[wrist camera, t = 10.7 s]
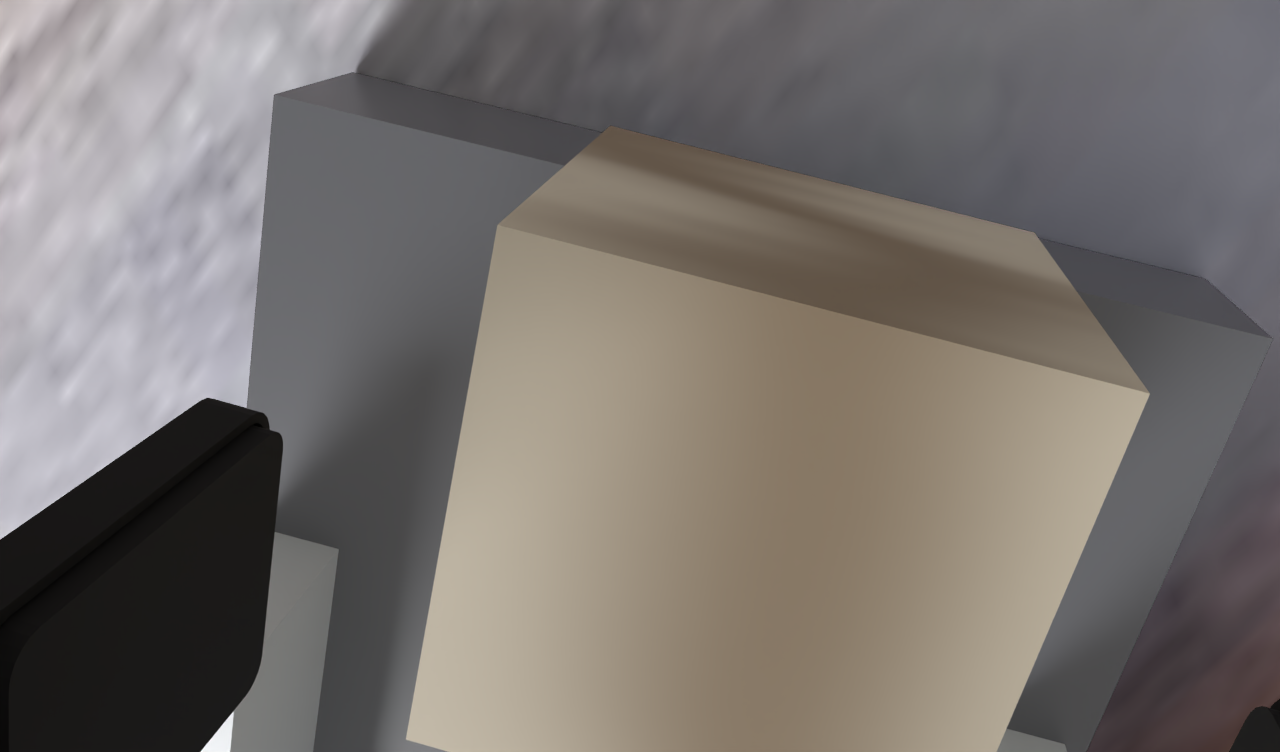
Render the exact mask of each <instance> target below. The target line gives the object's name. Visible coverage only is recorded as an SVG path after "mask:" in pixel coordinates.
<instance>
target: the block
mask: <svg viewBox="0 0 1280 752" xmlns="http://www.w3.org/2000/svg"><path fill="white" fill-rule="evenodd" d="M1149 395H1150V393H1149V391H1148V390H1147V389H1146V387H1145V386H1144V384H1143V383H1142V382H1141V380H1140V379H1139V377H1138V376H1137V375H1136V373H1135V372H1134V371H1133V369H1132V368H1131V366H1130V365H1129V364H1128V362H1127V361H1126V359H1125V358H1124V357H1123V355H1122V354H1121V352H1120V351H1119V350H1118V348H1117V347H1116V345H1115V344H1114V343H1113V341H1112V340H1111V339H1110V337H1109V336H1108V334H1107V333H1106V332H1105V330H1104V329H1103V327H1102V326H1101V325H1100V323H1099V322H1098V320H1097V319H1096V318H1095V316H1094V315H1093V313H1092V312H1091V311H1090V309H1089V308H1088V307H1087V305H1086V304H1085V302H1084V301H1083V300H1082V298H1081V297H1080V295H1079V294H1078V293H1077V291H1076V290H1075V288H1074V287H1073V286H1072V284H1071V283H1070V281H1069V280H1068V279H1067V277H1066V276H1065V275H1064V273H1063V272H1062V270H1061V269H1060V268H1059V266H1058V265H1057V263H1056V262H1055V261H1054V259H1053V258H1052V256H1051V255H1050V254H1049V252H1048V251H1047V249H1046V248H1045V247H1044V245H1043V244H1042V243H1041V241H1040V240H1039V238H1038V237H1037V236H1036V234H1035V233H1034V232H1030V231H1026V230H1022V229H1018V228H1014V227H1010V226H1006V225H1002V224H998V223H994V222H990V221H986V220H982V219H978V218H974V217H971V216H967V215H963V214H959V213H955V212H951V211H947V210H943V209H939V208H935V207H931V206H927V205H923V204H919V203H915V202H911V201H907V200H903V199H899V198H895V197H891V196H887V195H883V194H879V193H875V192H871V191H867V190H863V189H859V188H855V187H851V186H848V185H844V184H840V183H836V182H832V181H828V180H824V179H820V178H816V177H812V176H808V175H804V174H800V173H796V172H792V171H788V170H784V169H780V168H776V167H772V166H768V165H764V164H760V163H756V162H752V161H748V160H744V159H740V158H736V157H732V156H728V155H725V154H721V153H717V152H713V151H709V150H705V149H701V148H697V147H693V146H689V145H685V144H681V143H677V142H673V141H669V140H665V139H661V138H657V137H653V136H649V135H645V134H641V133H637V132H633V131H629V130H625V129H621V128H617V127H613V126H609V127H608V128H607V129H606V130H605V131H604V132H603V133H601V134H600V135H599V136H598V137H597V138H596V139H595V140H594V141H592V142H591V143H590V144H589V145H588V146H587V147H586V148H584V149H583V150H582V151H581V152H580V153H579V154H578V155H576V156H575V157H574V158H573V159H572V160H571V161H570V162H568V163H567V164H566V165H565V166H564V167H563V168H562V169H560V170H559V171H558V172H557V173H556V174H555V175H554V176H552V177H551V178H550V179H549V180H548V181H547V182H546V183H544V184H543V185H542V186H541V187H540V188H539V189H538V190H536V191H535V192H534V193H533V194H532V195H531V196H530V197H529V198H527V199H526V200H525V201H524V202H523V203H522V204H521V205H519V206H518V207H517V208H516V209H515V210H514V211H513V212H511V213H510V214H509V215H508V216H507V217H506V218H505V219H503V220H502V221H501V222H500V223H499V224H498V225H497V230H496V235H495V241H494V247H493V252H492V258H491V264H490V269H489V275H488V280H487V286H486V292H485V297H484V303H483V309H482V314H481V320H480V325H479V331H478V337H477V342H476V348H475V353H474V359H473V365H472V370H471V376H470V382H469V387H468V393H467V398H466V404H465V410H464V415H463V421H462V426H461V432H460V438H459V443H458V449H457V455H456V460H455V466H454V471H453V477H452V483H451V488H450V494H449V500H448V505H447V511H446V516H445V522H444V528H443V533H442V539H441V544H440V550H439V556H438V561H437V567H436V573H435V578H434V584H433V589H432V595H431V601H430V606H429V612H428V617H427V623H426V629H425V634H424V640H423V646H422V651H421V657H420V662H419V668H418V674H417V679H416V685H415V691H414V696H413V702H412V707H411V713H410V719H409V724H408V730H407V735H406V740H409V741H413V742H416V743H419V744H423V745H426V746H430V747H433V748H437V749H440V750H444V751H447V752H997V750H998V747H999V745H1000V743H1001V740H1002V738H1003V736H1004V733H1005V731H1006V729H1007V726H1008V724H1009V722H1010V719H1011V717H1012V715H1013V712H1014V710H1015V708H1016V705H1017V703H1018V701H1019V698H1020V696H1021V694H1022V691H1023V689H1024V687H1025V684H1026V682H1027V680H1028V677H1029V675H1030V673H1031V670H1032V668H1033V666H1034V663H1035V661H1036V659H1037V656H1038V654H1039V652H1040V649H1041V647H1042V645H1043V642H1044V640H1045V638H1046V635H1047V633H1048V631H1049V628H1050V626H1051V624H1052V621H1053V619H1054V617H1055V614H1056V612H1057V610H1058V607H1059V605H1060V603H1061V600H1062V598H1063V596H1064V593H1065V591H1066V589H1067V586H1068V584H1069V582H1070V579H1071V577H1072V575H1073V572H1074V570H1075V568H1076V565H1077V563H1078V561H1079V558H1080V556H1081V554H1082V551H1083V549H1084V547H1085V544H1086V542H1087V540H1088V537H1089V535H1090V533H1091V530H1092V528H1093V526H1094V523H1095V521H1096V519H1097V516H1098V514H1099V512H1100V509H1101V507H1102V505H1103V502H1104V500H1105V498H1106V495H1107V493H1108V491H1109V488H1110V486H1111V484H1112V481H1113V479H1114V477H1115V474H1116V472H1117V470H1118V467H1119V465H1120V463H1121V460H1122V458H1123V456H1124V453H1125V451H1126V449H1127V446H1128V444H1129V442H1130V439H1131V437H1132V435H1133V432H1134V430H1135V428H1136V425H1137V423H1138V421H1139V418H1140V416H1141V414H1142V411H1143V409H1144V407H1145V404H1146V402H1147V400H1148V397H1149Z"/></svg>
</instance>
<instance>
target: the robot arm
mask: <svg viewBox="0 0 1280 752" xmlns="http://www.w3.org/2000/svg"><path fill="white" fill-rule="evenodd" d="M282 455H283V439H282V436H281V434H280V433H279V432H276V431H272V430H270V426H269V421H268V418H267V416H266V415H265V414H264V413H262V412H258V411H255V410H251V409H248V408H244V407H240V406H237V405H233V404H230V403H226V402H222V401H219V400H215V399H211V398H206V399H204V400H201V401H200V402H198V403H197V404H195V405H194V406H192V407H191V408H189V409H188V410H187V411H185V412H184V413H182V414H181V415H179V416H178V417H176V418H175V419H174V420H172V421H171V422H169V423H168V424H166V425H165V426H163V427H162V428H161V429H159V430H158V431H156V432H155V433H153V434H152V435H151V436H149V437H148V438H146V439H145V440H143V441H142V442H140V443H139V444H138V445H136V446H135V447H133V448H132V449H130V450H129V451H127V452H126V453H125V454H123V455H122V456H120V457H119V458H117V459H116V460H115V461H113V462H112V463H110V464H109V465H107V466H106V467H104V468H103V469H102V470H100V471H99V472H97V473H96V474H94V475H93V476H91V477H90V478H89V479H87V480H86V481H84V482H83V483H81V484H80V485H79V486H77V487H76V488H74V489H73V490H71V491H70V492H68V493H67V494H66V495H64V496H63V497H61V498H60V499H58V500H57V501H55V502H54V503H53V504H51V505H50V506H48V507H47V508H45V509H44V510H42V511H41V512H40V513H38V514H37V515H35V516H34V517H32V518H31V519H30V520H28V521H27V522H25V523H24V524H22V525H21V526H19V527H18V528H17V529H15V530H14V531H12V532H11V533H9V534H8V535H6V536H5V537H4V538H2V539H1V540H0V752H201V750H202V749H203V748H204V747H205V746H206V744H207V743H208V742H209V741H210V739H211V738H212V737H213V736H214V735H215V733H216V732H217V731H218V730H219V728H220V727H221V726H222V725H223V723H224V722H225V721H226V720H227V719H228V717H229V716H230V715H231V714H232V712H233V711H234V710H235V709H236V707H237V706H238V705H239V704H240V703H241V701H242V700H243V699H244V698H245V696H246V695H247V694H248V692H249V691H250V689H251V687H252V685H253V683H254V681H255V679H256V676H257V674H258V671H259V668H260V664H261V659H262V653H263V643H264V633H265V623H266V613H267V603H268V594H269V584H270V574H271V564H272V554H273V544H274V534H275V524H276V514H277V505H278V495H279V485H280V475H281V465H282ZM1229 752H1280V699H1279V700H1278V701H1277V702H1275V703H1274V704H1273V705H1272V706H1271V708H1267V707H1263V706H1261V707H1257V708H1255V709H1254V710H1253V711H1252V712H1250V714H1249V716H1248V717H1247V719H1246V720H1245V722H1244V724H1243V726H1242V728H1241V730H1240V732H1239V734H1238V736H1237V738H1236V740H1235V742H1234V744H1233V745H1232V747H1231V749H1230V751H1229Z"/></svg>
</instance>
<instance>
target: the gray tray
mask: <svg viewBox="0 0 1280 752" xmlns="http://www.w3.org/2000/svg"><path fill="white" fill-rule="evenodd" d="M600 134H601V132H597V131H593V130H589V129H585V128H581V127H576V126H572V125H568V124H564V123H560V122H556V121H552V120H548V119H543V118H539V117H535V116H531V115H527V114H523V113H519V112H515V111H510V110H506V109H502V108H498V107H494V106H490V105H486V104H481V103H477V102H473V101H469V100H465V99H461V98H457V97H453V96H448V95H444V94H440V93H436V92H432V91H428V90H424V89H420V88H415V87H411V86H407V85H403V84H399V83H395V82H391V81H386V80H382V79H378V78H374V77H370V76H366V75H362V74H358V73H353V72H352V73H349V74H345V75H342V76H338V77H335V78H331V79H328V80H324V81H320V82H317V83H313V84H310V85H306V86H303V87H299V88H296V89H292V90H289V91H285V92H282V93H278V94H275V95H274V101H273V112H272V124H271V135H270V147H269V158H268V170H267V181H266V193H265V204H264V215H263V227H262V238H261V250H260V261H259V273H258V284H257V296H256V307H255V319H254V330H253V342H252V353H251V365H250V376H249V388H248V399H247V408H248V409H251V410H255V411H258V412H262V413H264V414H265V415H266V416H267V418H268V421H269V426H270V430H272V431H276V432H279V433H280V434H281V436H282V439H283V455H282V465H281V475H280V485H279V495H278V505H277V514H276V524H275V534H274V544H273V554H272V564H271V574H270V584H269V594H268V603H267V613H266V623H265V633H264V643H263V653H262V659H261V664H260V668H259V671H258V674H257V676H256V679H255V681H254V683H253V685H252V687H251V689H250V691H249V692H248V694H247V695H246V696H245V698H244V699H243V700H242V701H241V703H240V704H239V705H238V706H237V707H236V709H235V710H234V711H233V712H232V714H231V715H230V716H229V717H228V719H227V720H226V721H225V722H224V723H223V725H222V726H221V727H220V728H219V730H218V731H217V732H216V733H215V735H214V736H213V737H212V738H211V739H210V741H209V742H208V743H207V744H206V746H205V747H204V748H203V749H202V750H201V752H447V751H444V750H440V749H437V748H433V747H430V746H426V745H423V744H419V743H416V742H413V741H409V740H406V735H407V730H408V724H409V719H410V713H411V707H412V702H413V696H414V691H415V685H416V679H417V674H418V668H419V662H420V657H421V651H422V646H423V640H424V634H425V629H426V623H427V617H428V612H429V606H430V601H431V595H432V589H433V584H434V578H435V573H436V567H437V561H438V556H439V550H440V544H441V539H442V533H443V528H444V522H445V516H446V511H447V505H448V500H449V494H450V488H451V483H452V477H453V471H454V466H455V460H456V455H457V449H458V443H459V438H460V432H461V426H462V421H463V415H464V410H465V404H466V398H467V393H468V387H469V382H470V376H471V370H472V365H473V359H474V353H475V348H476V342H477V337H478V331H479V325H480V320H481V314H482V309H483V303H484V297H485V292H486V286H487V280H488V275H489V269H490V264H491V258H492V252H493V247H494V241H495V235H496V230H497V225H498V224H499V223H500V222H501V221H502V220H503V219H505V218H506V217H507V216H508V215H509V214H510V213H511V212H513V211H514V210H515V209H516V208H517V207H518V206H519V205H521V204H522V203H523V202H524V201H525V200H526V199H527V198H529V197H530V196H531V195H532V194H533V193H534V192H535V191H536V190H538V189H539V188H540V187H541V186H542V185H543V184H544V183H546V182H547V181H548V180H549V179H550V178H551V177H552V176H554V175H555V174H556V173H557V172H558V171H559V170H560V169H562V168H563V167H564V166H565V165H566V164H567V163H568V162H570V161H571V160H572V159H573V158H574V157H575V156H576V155H578V154H579V153H580V152H581V151H582V150H583V149H584V148H586V147H587V146H588V145H589V144H590V143H591V142H592V141H594V140H595V139H596V138H597V137H598V136H599V135H600ZM1039 240H1040V241H1041V243H1042V244H1043V245H1044V247H1045V248H1046V249H1047V251H1048V252H1049V254H1050V255H1051V256H1052V258H1053V259H1054V261H1055V262H1056V263H1057V265H1058V266H1059V268H1060V269H1061V270H1062V272H1063V273H1064V275H1065V276H1066V277H1067V279H1068V280H1069V281H1070V283H1071V284H1072V286H1073V287H1074V288H1075V290H1076V291H1077V293H1078V294H1079V295H1080V297H1081V298H1082V300H1083V301H1084V302H1085V304H1086V305H1087V307H1088V308H1089V309H1090V311H1091V312H1092V313H1093V315H1094V316H1095V318H1096V319H1097V320H1098V322H1099V323H1100V325H1101V326H1102V327H1103V329H1104V330H1105V332H1106V333H1107V334H1108V336H1109V337H1110V339H1111V340H1112V341H1113V343H1114V344H1115V345H1116V347H1117V348H1118V350H1119V351H1120V352H1121V354H1122V355H1123V357H1124V358H1125V359H1126V361H1127V362H1128V364H1129V365H1130V366H1131V368H1132V369H1133V371H1134V372H1135V373H1136V375H1137V376H1138V377H1139V379H1140V380H1141V382H1142V383H1143V384H1144V386H1145V387H1146V389H1147V390H1148V391H1149V393H1150V395H1149V397H1148V400H1147V402H1146V404H1145V407H1144V409H1143V411H1142V414H1141V416H1140V418H1139V421H1138V423H1137V425H1136V428H1135V430H1134V432H1133V435H1132V437H1131V439H1130V442H1129V444H1128V446H1127V449H1126V451H1125V453H1124V456H1123V458H1122V460H1121V463H1120V465H1119V467H1118V470H1117V472H1116V474H1115V477H1114V479H1113V481H1112V484H1111V486H1110V488H1109V491H1108V493H1107V495H1106V498H1105V500H1104V502H1103V505H1102V507H1101V509H1100V512H1099V514H1098V516H1097V519H1096V521H1095V523H1094V526H1093V528H1092V530H1091V533H1090V535H1089V537H1088V540H1087V542H1086V544H1085V547H1084V549H1083V551H1082V554H1081V556H1080V558H1079V561H1078V563H1077V565H1076V568H1075V570H1074V572H1073V575H1072V577H1071V579H1070V582H1069V584H1068V586H1067V589H1066V591H1065V593H1064V596H1063V598H1062V600H1061V603H1060V605H1059V607H1058V610H1057V612H1056V614H1055V617H1054V619H1053V621H1052V624H1051V626H1050V628H1049V631H1048V633H1047V635H1046V638H1045V640H1044V642H1043V645H1042V647H1041V649H1040V652H1039V654H1038V656H1037V659H1036V661H1035V663H1034V666H1033V668H1032V670H1031V673H1030V675H1029V677H1028V680H1027V682H1026V684H1025V687H1024V689H1023V691H1022V694H1021V696H1020V698H1019V701H1018V703H1017V705H1016V708H1015V710H1014V712H1013V715H1012V717H1011V719H1010V722H1009V724H1008V726H1007V729H1006V731H1005V733H1004V736H1003V738H1002V740H1001V743H1000V745H999V747H998V750H997V752H1086V751H1087V749H1088V747H1089V745H1090V743H1091V740H1092V738H1093V736H1094V734H1095V732H1096V729H1097V727H1098V725H1099V723H1100V720H1101V718H1102V716H1103V714H1104V712H1105V709H1106V707H1107V705H1108V703H1109V701H1110V698H1111V696H1112V694H1113V692H1114V690H1115V687H1116V685H1117V683H1118V681H1119V678H1120V676H1121V674H1122V672H1123V670H1124V667H1125V665H1126V663H1127V661H1128V659H1129V656H1130V654H1131V652H1132V650H1133V648H1134V645H1135V643H1136V641H1137V639H1138V636H1139V634H1140V632H1141V630H1142V628H1143V625H1144V623H1145V621H1146V619H1147V617H1148V614H1149V612H1150V610H1151V608H1152V606H1153V603H1154V601H1155V599H1156V597H1157V595H1158V592H1159V590H1160V588H1161V586H1162V583H1163V581H1164V579H1165V577H1166V575H1167V572H1168V570H1169V568H1170V566H1171V564H1172V561H1173V559H1174V557H1175V555H1176V553H1177V550H1178V548H1179V546H1180V544H1181V541H1182V539H1183V537H1184V535H1185V533H1186V530H1187V528H1188V526H1189V524H1190V522H1191V519H1192V517H1193V515H1194V513H1195V511H1196V508H1197V506H1198V504H1199V502H1200V500H1201V497H1202V495H1203V493H1204V491H1205V488H1206V486H1207V484H1208V482H1209V480H1210V477H1211V475H1212V473H1213V471H1214V469H1215V466H1216V464H1217V462H1218V460H1219V458H1220V455H1221V453H1222V451H1223V449H1224V446H1225V444H1226V442H1227V440H1228V438H1229V435H1230V433H1231V431H1232V429H1233V427H1234V424H1235V422H1236V420H1237V418H1238V416H1239V413H1240V411H1241V409H1242V407H1243V404H1244V402H1245V400H1246V398H1247V396H1248V393H1249V391H1250V389H1251V387H1252V385H1253V382H1254V380H1255V378H1256V376H1257V374H1258V371H1259V369H1260V367H1261V365H1262V363H1263V360H1264V358H1265V356H1266V354H1267V351H1268V349H1269V347H1270V345H1271V343H1272V340H1273V338H1272V337H1270V336H1269V335H1268V334H1267V333H1266V332H1265V331H1264V330H1263V329H1261V328H1260V327H1259V326H1258V325H1257V324H1256V323H1255V322H1254V321H1252V320H1251V319H1250V318H1249V317H1248V316H1247V315H1246V314H1245V313H1243V312H1242V311H1241V310H1240V309H1239V308H1238V307H1237V306H1236V305H1234V304H1233V303H1232V302H1231V301H1230V300H1229V299H1228V298H1227V297H1225V296H1224V295H1223V294H1222V293H1221V292H1220V291H1219V290H1218V289H1216V288H1215V287H1214V286H1213V285H1212V284H1211V283H1210V282H1209V281H1207V280H1206V279H1204V278H1200V277H1196V276H1192V275H1188V274H1183V273H1179V272H1175V271H1171V270H1167V269H1163V268H1159V267H1155V266H1150V265H1146V264H1142V263H1138V262H1134V261H1130V260H1126V259H1122V258H1117V257H1113V256H1109V255H1105V254H1101V253H1097V252H1093V251H1089V250H1084V249H1080V248H1076V247H1072V246H1068V245H1064V244H1060V243H1055V242H1051V241H1047V240H1043V239H1039Z"/></svg>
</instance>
